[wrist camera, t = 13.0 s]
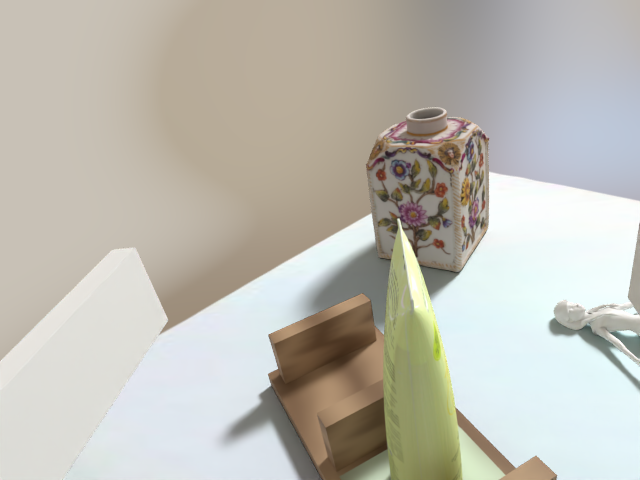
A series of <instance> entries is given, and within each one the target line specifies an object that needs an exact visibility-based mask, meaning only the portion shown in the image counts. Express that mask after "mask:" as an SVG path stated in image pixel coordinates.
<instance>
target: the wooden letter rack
mask: <svg viewBox="0 0 640 480" xmlns="http://www.w3.org/2000/svg"><path fill="white" fill-rule="evenodd" d="M269 339H270V342H271V345H272V349H273V352H274V356H275V359H276V362H277V366H278V369H277V370H275V371H273V372H271V373H269V374H268V376H269V379H270V383H271V385H272V387H273V389H274V391H275V393H276V395H277V397H278V398H279V400H280V402H281V404H282V406H283V408H284V410H285V411H286V413H287V415H288V417H289V419H290V421H291V423H292V425H293V426H294V428H295V430H296V432H297V434H298V436H299V438H300V439H301V441H302V443H303V445H304V447H305V449H306V451H307V452H308V454H309V456H310V458H311V460H312V462H313V464H314V465H315V467H316V469H317V471H318V473H319V475H320V477H321V478H322V480H391V474H390V465H389V456H388V447H387V436H386V425H385V412H384V391H383V355H384V335H383V334H382V333H381V332H380V331H379V330H378V329H377V328H376V327H375V326H374V319H373V312H372V306H371V300H370V299H369V298H368V297H366V296H365V295H364V294H363V293H362V294H360V295H357V296H355V297H353V298H350V299H348V300H346V301H344V302H341V303H339V304H337V305H335V306H332V307H330V308H328V309H326V310H323V311H321V312H319V313H316V314H314V315H312V316H310V317H307V318H305V319H303V320H301V321H298V322H296V323H294V324H292V325H289V326H287V327H285V328H282V329H280V330H278V331H276V332H273V333H271V334H269ZM455 409H456V416H457V424H458V432H459V442H460V452H461V463H462V477H463V480H556V478H557V475H556V474H555V473H554V472H553V471H552V470H551V469H550V468H549V467H548V466H547V465H545V464H544V463H543V462H542V461H541V460H540V459H539V458H538V457H537V456H535V457H533V458H532V459H530V460H528V461H527V462H525V463H524V464H522V465H521V466H519V467H518V468H515V467H514V466H513V465H512V464H511V463H510V462H509V461H508V460H507V459H506V458H505V457H504V456H503V455H502V454H501V453H500V452H499V451H498V450H497V449H496V448H495V447H494V446H493V445H492V444H491V443H490V442H489V441H488V440H487V439H486V438H485V437H484V436H483V435H482V434H481V433H480V432H479V431H478V430H477V429H476V428H475V427H474V426H473V425H472V424H471V423H470V422H469V421H468V420H467V419H466V418H465V417H464V415H463V414H462V413H461V412H460V411H459V410H458V409H457V408H456V407H455Z"/></svg>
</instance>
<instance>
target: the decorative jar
mask: <svg viewBox="0 0 640 480" xmlns="http://www.w3.org/2000/svg"><path fill="white" fill-rule="evenodd" d="M488 141H489V138H488V137H487V136H486V135H485V133H484V132H483V131H482V130H481V129H480V128H479V127H478V126H477V125H475V124H474V123H472V122H470V121H469V120H466V119H463V118H459V117H447V114H446V111H445V110H444V109H442V108H435V107H433V108H424V109H419V110H416V111H413V112H411V113H410V114H408V115H407V117H406V121H405V122H402V123H400V124H396V125H393V126H391V127H390V128H388V129H387V130H385V131H383V132H382V133H381V134H380V135H379V136H378V137H377V140H376V142H375V145H374V148H373V150H372V153H371V154H370V157H369V160H368V163H367V164H366V168H367V176H368V185H369V193H370V202H371V210H372V218H373V225H374V232H375V239H376V246H377V251H378V256H379V258H386V259H392V253H393V248H394V243H395V239H396V235H397V231H398V223H397V219H398V218H399V219H400V222H401V226H402V229H403V231H404V233H405V235H406V237H407V239H408V241H409V243H410V245H411V247H412V249H413V252H414V254H415V256H416V259H417V261H418V264H419V265H422V266H427V267H432V268H438V269H444V270H450V271H454V272H459V271H461V269H462V268H463V267H464V265H465V263H466V262H467V260H468V258H469V257H470V255H471V254H472V252H473V251H474V249H475V248H476V246H477V245H478V243H479V242H480V240H481V238H482V237H483V235H484V234H485V232H486V231H487V229H488V223H489V165H488Z"/></svg>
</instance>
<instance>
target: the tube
mask: <svg viewBox="0 0 640 480" xmlns="http://www.w3.org/2000/svg"><path fill="white" fill-rule="evenodd" d="M397 223H398V231H397V235H396V239H395V243H394V248H393V253H392V259H391V265H390V272H389V279H388V288H387V300H386V314H385V330H384V355H383V391H384V412H385V425H386V436H387V447H388V456H389V465H390V474H391V480H463V477H462V463H461V452H460V442H459V432H458V424H457V416H456V409H455V402H454V395H453V390H452V384H451V379H450V374H449V369H448V364H447V360H446V356H445V351H444V347H443V344H442V340H441V336H440V332H439V329H438V325H437V322H436V318H435V314H434V311H433V308H432V304H431V301H430V297H429V294H428V291H427V288H426V284H425V281H424V278H423V275H422V272H421V269H420V267H419V264H418V261H417V259H416V256H415V254H414V252H413V249H412V247H411V245H410V243H409V241H408V239H407V237H406V235H405V233H404V231H403V229H402V226H401V222H400V219H399V218H398V219H397Z"/></svg>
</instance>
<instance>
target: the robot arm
mask: <svg viewBox="0 0 640 480" xmlns="http://www.w3.org/2000/svg"><path fill="white" fill-rule="evenodd" d="M628 298H629V300H630V301H631V303H632V305H633V306H634V308H635V309H636V311H637V312H638V314H639V315H640V224H639V231H638V237H637V243H636V250H635V256H634V262H633V268H632V275H631V281H630V287H629V294H628ZM167 321H168V319H167V317H166V314H165V312H164V310H163V308H162V306H161V303H160V301H159V299H158V297H157V295H156V292H155V290H154V288H153V286H152V284H151V282H150V279H149V277H148V275H147V273H146V270H145V268H144V266H143V264H142V262H141V259H140V257H139V255H138V253H137V251H136V248H124V249H113V250H112V251H111V252H110V253H109V254H108V255H107V256H106V257H105V258H104V259H103V260H102V261H100V262H99V263H98V265H96V266H95V268H93V269H92V270H91V271H90V272H89V273H88V274H87V276H85V277H84V278H83V279H82V280H81V281H80V282H79V283H78V285H76V287H74V288H73V289H72V290H71V291H70V293H68V294H67V295H66V296H65V297H64V298H63V300H61V301H60V302H59V303H58V304H57V305H56V306H55V307H54V308H53V309H52V310H51V311H50V312H49V313H48V314H47V315H46V316H45V317H44V318H43V319H42V320H41V321H40V322H39V323H38V324H37V325H36V326H35V327H34V328H33V329H32V330H31V331H30V332H29V333H28V334H27V335H26V336H25V337H24V338H23V339H22V340H21V341H20V342H19V343H18V344H17V345H16V346H15V347H14V348H13V349H12V350H11V351H10V352H9V353H8V354H7V355H6V356H5V357H4V358H3V359H2V360H1V361H0V480H63V479H64V478H65V476H66V474H67V473H68V471H69V470H70V468H71V467H72V465H73V464H74V462H75V461H76V459H77V458H78V456H79V455H80V453H81V452H82V450H83V449H84V447H85V446H86V444H87V443H88V441H89V440H90V438H91V437H92V435H93V433H94V432H95V430H96V429H97V427H98V426H99V424H100V423H101V421H102V420H103V418H104V417H105V415H106V414H107V412H108V411H109V409H110V408H111V406H112V405H113V403H114V402H115V400H116V399H117V397H118V396H119V394H120V393H121V391H122V389H123V388H124V386H125V385H126V383H127V382H128V380H129V379H130V377H131V376H132V374H133V373H134V371H135V370H136V368H137V367H138V365H139V364H140V362H141V361H142V359H143V358H144V356H145V355H146V353H147V352H148V350H149V348H150V347H151V345H152V344H153V342H154V341H155V339H156V338H157V336H158V335H159V333H160V332H161V330H162V329H163V327H164V326H165V324H166V323H167Z"/></svg>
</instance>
